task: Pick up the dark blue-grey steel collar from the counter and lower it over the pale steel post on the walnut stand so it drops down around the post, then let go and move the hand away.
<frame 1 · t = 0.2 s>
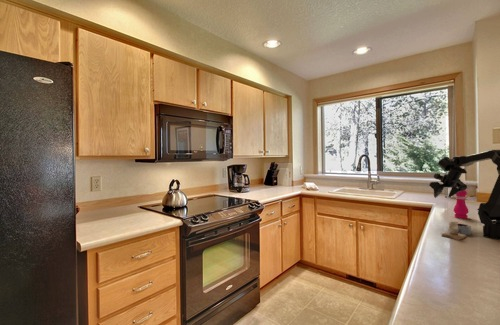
hand: (442, 196, 146), 15 cm above the countertop, tool tilted 30°, fingers open, 9 cm apart
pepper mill: (460, 217, 154), on the countertop
steel collar: (460, 233, 123), on the countertop
post stand: (453, 236, 117), on the countertop
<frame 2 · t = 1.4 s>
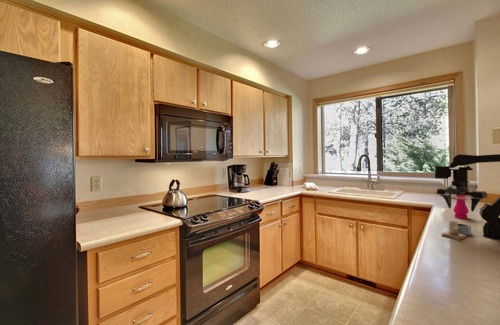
hand: (460, 209, 123), 12 cm above the countertop, tool pointing down, fingers open, 9 cm apart
nothing on the countertop moved.
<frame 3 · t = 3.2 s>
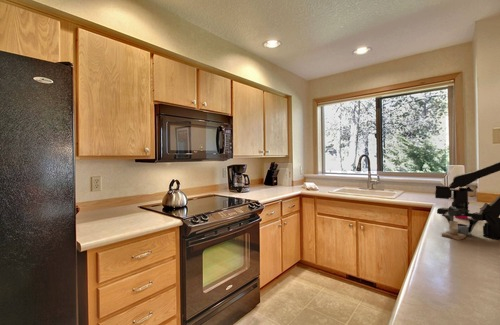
hand: (460, 230, 123), 1 cm above the countertop, tool pointing down, fingers closed on steel collar, 7 cm apart
steel collar: (460, 233, 123), on the countertop, touching gripper
everything else where it was.
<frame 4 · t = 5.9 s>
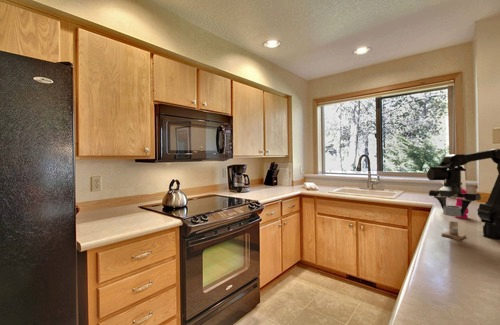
hand: (453, 212, 117), 12 cm above the countertop, tool pointing down, fingers closed on steel collar, 7 cm apart
steel collar: (453, 214, 117), point 11 cm above the countertop, touching gripper
everything else where it was.
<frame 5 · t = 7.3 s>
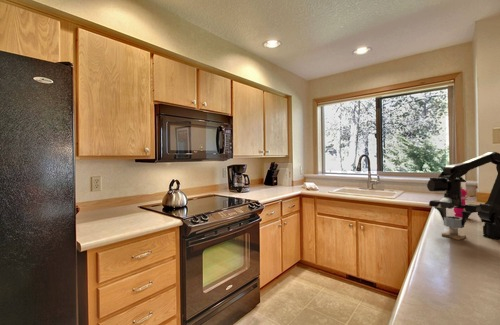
hand: (453, 223, 117), 6 cm above the countertop, tool pointing down, fingers closed on steel collar, 7 cm apart
steel collar: (453, 225, 117), point 5 cm above the countertop, touching gripper
everything else where it was.
when the fingers open (3 cm above the countertop, at t = 8.5 s): steel collar drops 1 cm, resting on post stand.
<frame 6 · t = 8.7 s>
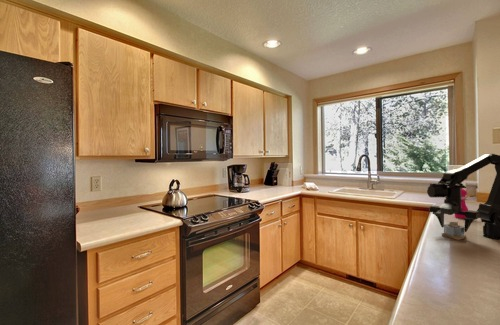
hand: (453, 229, 117), 3 cm above the countertop, tool pointing down, fingers open, 9 cm apart
steel collar: (453, 234, 117), point 1 cm above the countertop, touching post stand
everything else where it was.
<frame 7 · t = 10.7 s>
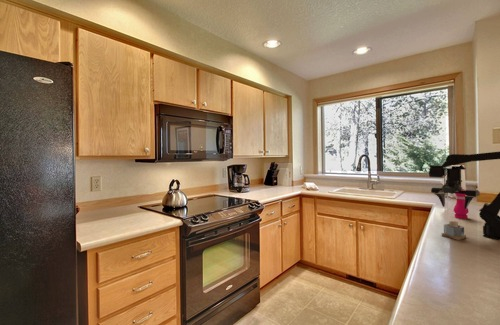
hand: (454, 207, 127), 12 cm above the countertop, tool pointing down, fingers open, 9 cm apart
nothing on the countertop moved.
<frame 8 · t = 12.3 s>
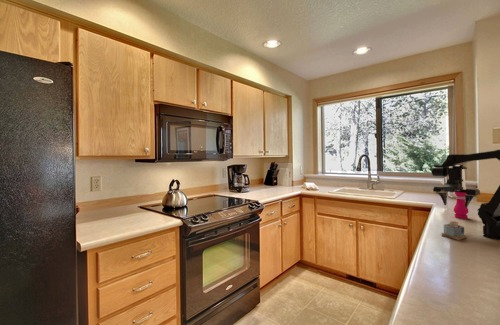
hand: (455, 206, 131), 12 cm above the countertop, tool pointing down, fingers open, 9 cm apart
nothing on the countertop moved.
at the end: steel collar 0.0 cm from the post stand (horizontally); steel collar point 1.2 cm above the countertop; the gripper is holding nothing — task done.
